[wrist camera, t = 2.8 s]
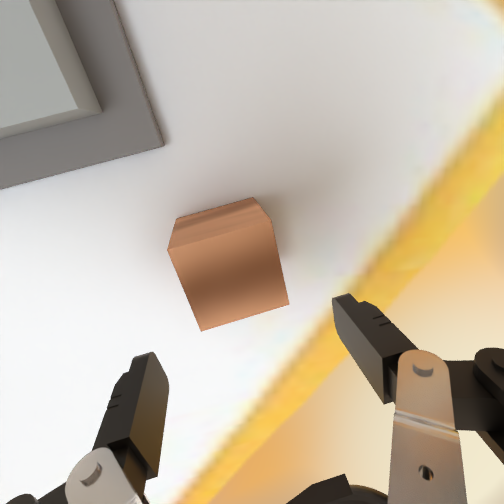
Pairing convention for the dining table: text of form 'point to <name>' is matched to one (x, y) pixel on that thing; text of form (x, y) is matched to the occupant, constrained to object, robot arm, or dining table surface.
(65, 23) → the base
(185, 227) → the cube
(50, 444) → the dining table surface
